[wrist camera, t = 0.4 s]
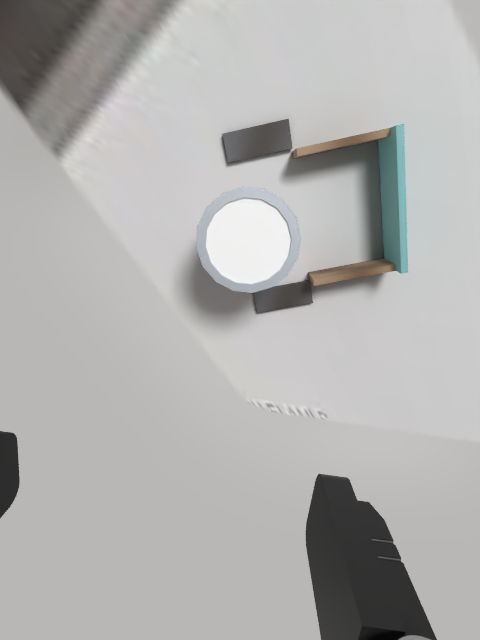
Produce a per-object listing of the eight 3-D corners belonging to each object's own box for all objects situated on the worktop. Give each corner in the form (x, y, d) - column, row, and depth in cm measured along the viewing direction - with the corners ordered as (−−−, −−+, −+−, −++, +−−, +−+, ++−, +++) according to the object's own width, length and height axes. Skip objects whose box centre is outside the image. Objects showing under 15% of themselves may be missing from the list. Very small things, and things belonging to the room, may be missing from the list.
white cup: (191, 211, 29) (175, 220, 22) (266, 168, 28) (272, 164, 21) (231, 283, 31) (227, 310, 24) (302, 246, 30) (318, 264, 23)
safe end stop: (384, 263, 30) (401, 273, 27) (377, 132, 26) (396, 125, 23) (390, 262, 30) (407, 272, 27) (384, 131, 26) (403, 123, 23)
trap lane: (257, 311, 32) (258, 321, 30) (222, 134, 27) (220, 130, 24) (385, 287, 31) (396, 296, 29) (375, 99, 26) (388, 91, 23)
